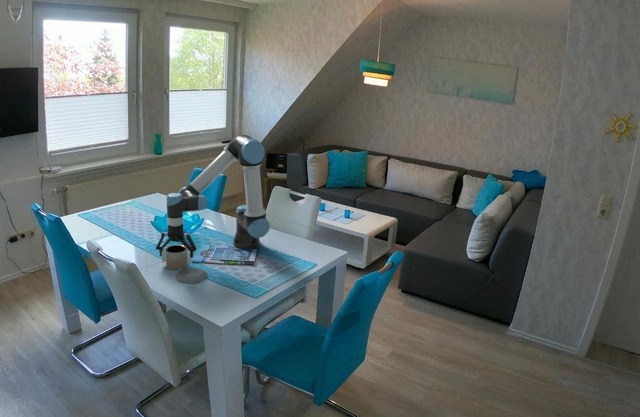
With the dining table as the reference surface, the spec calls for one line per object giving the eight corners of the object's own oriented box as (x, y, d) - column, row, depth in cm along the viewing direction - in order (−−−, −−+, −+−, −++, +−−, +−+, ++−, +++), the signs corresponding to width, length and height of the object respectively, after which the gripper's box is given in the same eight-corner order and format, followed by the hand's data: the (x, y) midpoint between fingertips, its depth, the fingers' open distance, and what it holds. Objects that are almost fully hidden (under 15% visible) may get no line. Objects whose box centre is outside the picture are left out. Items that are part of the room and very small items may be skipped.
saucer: (209, 270, 255) (209, 268, 254) (203, 284, 240) (203, 282, 240) (180, 268, 254) (180, 267, 254) (171, 282, 240) (171, 280, 240)
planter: (179, 259, 265) (179, 242, 262) (192, 266, 259) (191, 248, 255) (161, 265, 257) (160, 248, 254) (174, 272, 250) (173, 255, 247)
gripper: (202, 222, 254) (202, 260, 261) (152, 219, 254) (154, 258, 260) (198, 228, 247) (199, 266, 254) (147, 225, 246) (150, 264, 253)
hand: (176, 262), depth 257 cm, fingers open, 13 cm apart
